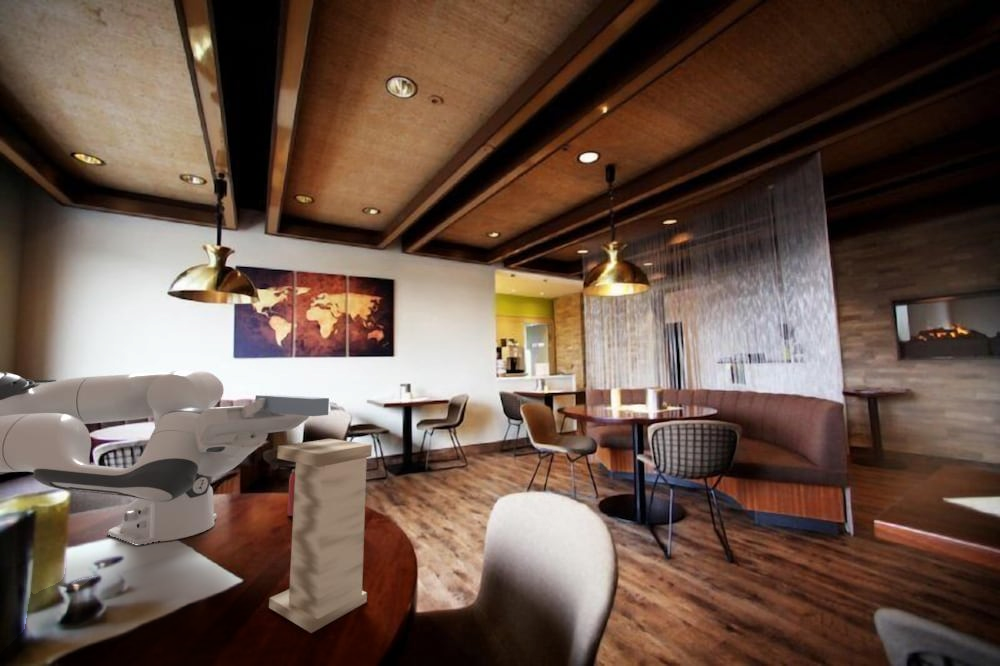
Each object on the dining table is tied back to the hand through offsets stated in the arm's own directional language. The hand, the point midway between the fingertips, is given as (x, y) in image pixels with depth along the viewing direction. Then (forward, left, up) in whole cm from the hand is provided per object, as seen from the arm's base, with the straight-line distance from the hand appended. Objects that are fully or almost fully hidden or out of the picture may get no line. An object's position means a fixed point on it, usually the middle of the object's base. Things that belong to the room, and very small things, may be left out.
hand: (275, 401), depth 81 cm
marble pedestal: (+16, -5, -33) cm, 37 cm away
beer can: (-19, +31, -33) cm, 49 cm away
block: (+5, -2, -2) cm, 6 cm away
